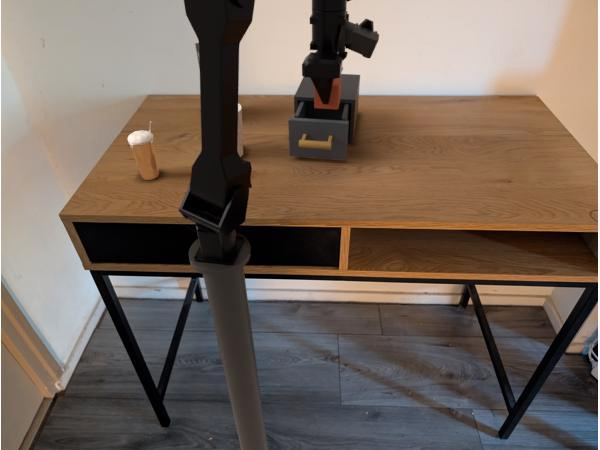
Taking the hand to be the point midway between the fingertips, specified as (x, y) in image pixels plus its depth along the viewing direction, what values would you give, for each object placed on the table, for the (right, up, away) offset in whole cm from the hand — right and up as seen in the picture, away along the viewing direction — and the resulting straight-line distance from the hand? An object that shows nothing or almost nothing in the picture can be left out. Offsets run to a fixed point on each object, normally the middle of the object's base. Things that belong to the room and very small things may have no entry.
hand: (327, 98), depth 81 cm
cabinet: (+1, -1, +18) cm, 18 cm away
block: (0, -1, +1) cm, 1 cm away
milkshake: (-34, -14, +3) cm, 37 cm away
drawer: (-1, -8, +9) cm, 11 cm away
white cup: (-20, -9, +9) cm, 24 cm away
